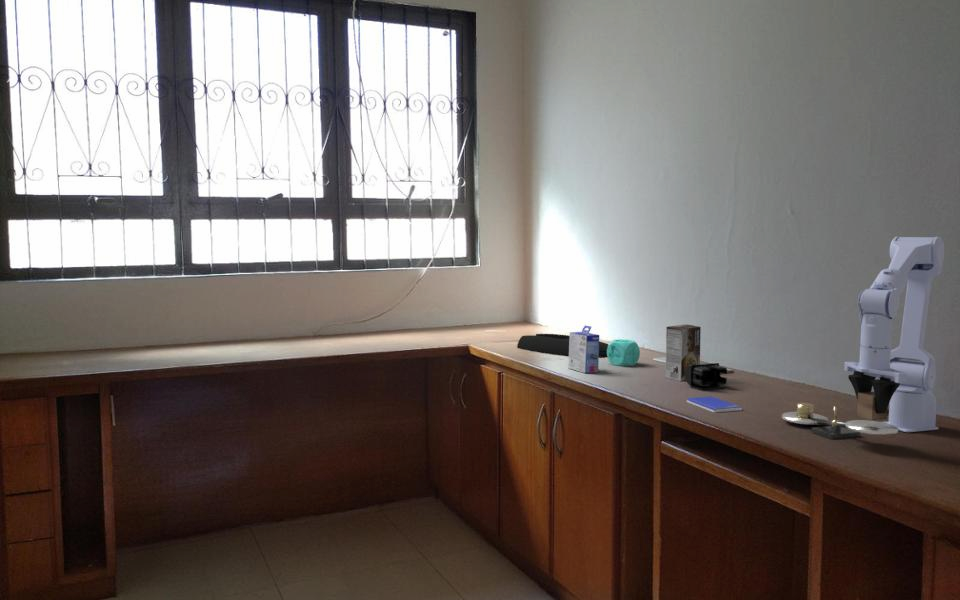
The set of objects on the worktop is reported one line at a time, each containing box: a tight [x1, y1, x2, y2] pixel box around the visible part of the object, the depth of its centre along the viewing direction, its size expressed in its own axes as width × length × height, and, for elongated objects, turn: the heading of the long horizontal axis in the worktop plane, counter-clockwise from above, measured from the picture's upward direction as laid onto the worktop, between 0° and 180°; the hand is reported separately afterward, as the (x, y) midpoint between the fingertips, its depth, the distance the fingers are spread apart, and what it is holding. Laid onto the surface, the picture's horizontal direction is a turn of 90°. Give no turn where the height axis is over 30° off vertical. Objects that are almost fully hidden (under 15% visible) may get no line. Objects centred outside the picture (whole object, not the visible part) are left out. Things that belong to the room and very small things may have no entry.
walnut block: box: [856, 391, 889, 421], centre depth 160 cm, size 4×4×5 cm
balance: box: [781, 402, 899, 440], centre depth 170 cm, size 10×30×6 cm, turn 17°
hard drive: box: [686, 396, 743, 413], centre depth 198 cm, size 2×8×12 cm
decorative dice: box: [607, 338, 641, 367], centre depth 258 cm, size 8×8×8 cm
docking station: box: [516, 333, 609, 358], centre depth 289 cm, size 25×40×5 cm, turn 42°
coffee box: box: [664, 324, 702, 382], centre depth 234 cm, size 9×6×16 cm
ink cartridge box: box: [568, 325, 600, 374], centre depth 246 cm, size 10×6×14 cm, turn 28°
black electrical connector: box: [685, 362, 728, 392], centre depth 221 cm, size 10×7×7 cm
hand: (872, 410), depth 160 cm, fingers closed on walnut block, 4 cm apart
